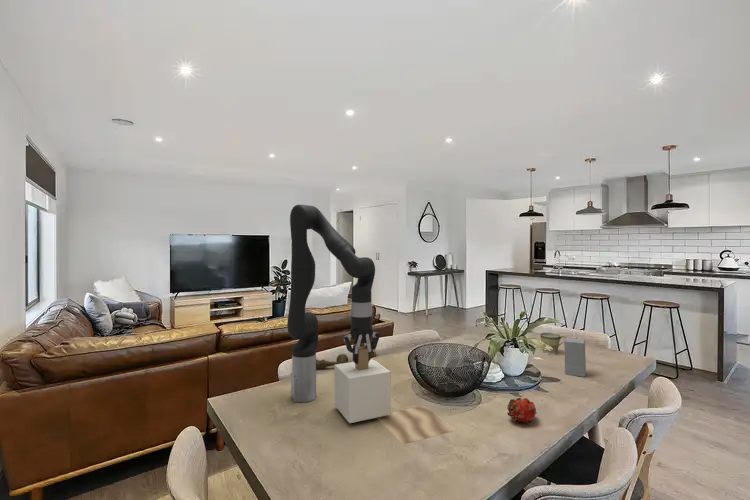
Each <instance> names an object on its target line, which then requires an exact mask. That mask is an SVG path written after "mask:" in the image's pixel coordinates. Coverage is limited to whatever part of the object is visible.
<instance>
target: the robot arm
mask: <svg viewBox="0 0 750 500" xmlns="http://www.w3.org/2000/svg"><path fill="white" fill-rule="evenodd" d="M289 224H290V225H289V226H290V237H291V238H290V241H291V262H290V265H291V266H290V295H289V296H290V297H289V298H290V299H289V307H288V315H287V316H288V317H287V322H286V323H287V324H286V325H287V331H288V335H289V336H290V338H291V339H293V340H298V341H297V342H296V343H295V345H293V347H292V348H291V349H292V350H291V362H292V363H291V365H292V366H291V370H292V371H291V373H290V394H291V395H290V397H291V400H293V402H294V403H307V402H312V401H314V400H316V398H317V369H316V360H317V348H318V345H319V331H320V330H319V321H318V318H317V316H316V315H315V313H313V312H312V311H311V312H310V311H307V312H306V306H307V305H306V303H307V301H308V298H309V295H310V294H311V291H312V289H313V287H314V285H315V282H316V261H315V258H314V255H313V254H312V251H311V249H310V246H309V243H308V230H313V232H316V233H317V234H318V235H319V236H320V237H321V238H322V240H323V242H324V245H325V247H326V248H327V250H328V251H329V252H330V253H331V254H332V255H333V256H334V257H335V258H336V259H337V260H339V262H340V264H341V266H342V267H343V268H344V270H345V271H346V274H348V275H349V276H351V277H352V278H354V279H357V280H356V283H355V284H354V285H353V286H352V287H351V303H350V304H351V306H350V332H349V334H346V335H343V336H342V339H343V342H344V344H345V346H346V350H347V351H348V352H349V353H351V354H352V362H354V363H355V364H358V349H359V347H361V346H360V345H361V344H363V345H364V347H366V348H368V359H369V361H370V360H371V359H372V358H371V355H372V353H371V352H372V351H373V350H374V351H375V350H376V348H377V346H378V343H379V341H380V336H381V333H379V332H377V331H374V330H373V304H372V289H373V284H374V280H375V275H376V265H375V262H374V261H373V259H371V258H370V257H366V256H365V257H358V256H357V255H356V249H355V248H354V246H353V245H352V244H351V243H350V242H349V241H348V240H347V239H345V238H344V237H343V236H342V235H341V234H340V233H339V232H338V231H337V230H336V229H335V228H334V226H332V224H331V223H330V222H329V221H328V219H327V218H326V217H325V216H324V214H323V213H322V212H321V210H319V209H318V207H316V206H314V205H307V204H295V205H294V206H293V207H292V209H291V210H290V215H289ZM351 338H352V340H353V341H352V344H351ZM371 338H372V340H370V339H371Z"/></svg>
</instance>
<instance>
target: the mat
mask: <svg viewBox="0 0 750 500" xmlns="http://www.w3.org/2000/svg"><path fill="white" fill-rule="evenodd" d="M375 419H377V420H378V422H380V424H381V425H382V426H384V427H385V429H386V430H387V431H389V432H390V434H391V435H392V436H393V437H394V438H396V439H397V441H398V442H399V443H400V444H401V445H405V444H406V445H407V444H409V443H414V442H418V441H421V440H425V439H429V438H432V437H437V436H441V435H444V434H448V433H452V432H456V431H457V428H455V427H454V426H452V425H451V424H449V423H448V422H447V421H445V419H443V418H441V417H440V416H439V415H437V414H436V413H434V412H433V411H432V410H431V409H429V408H428V407H427V406H425V405H420V406H415V407H412V408H411V407H410V408H406V409H401V410H397V411H391V414H390V415H386V416H381V417H376V418H375Z"/></svg>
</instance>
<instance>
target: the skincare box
mask: <svg viewBox="0 0 750 500" xmlns="http://www.w3.org/2000/svg"><path fill="white" fill-rule="evenodd" d="M563 341H564V342H563V344H564V345H563V347H564V373H565V375H567V376H568V375H569V376H574V377H575V376H576V377H583V378H585V377H586V374H587V373H586V372H587V363H586V339H581V338H570V337H569V338H568V337H566V339H565V338H564V340H563Z"/></svg>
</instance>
